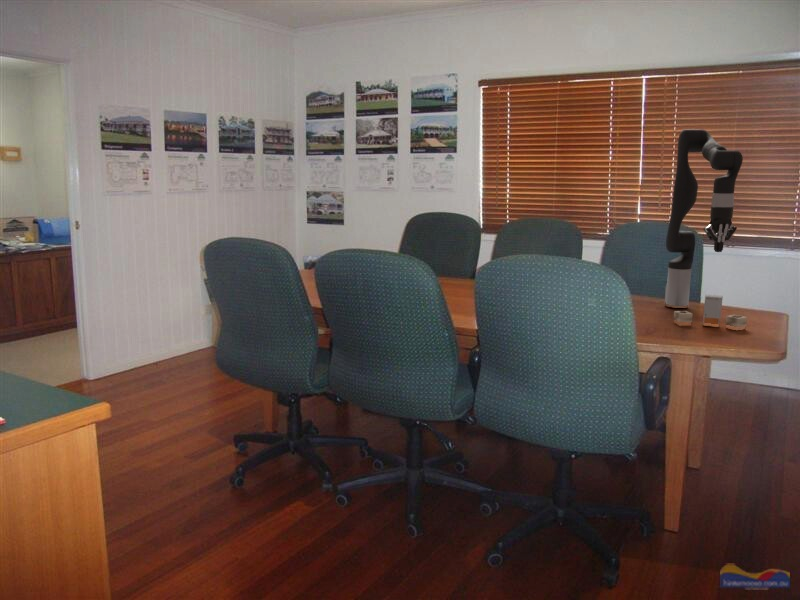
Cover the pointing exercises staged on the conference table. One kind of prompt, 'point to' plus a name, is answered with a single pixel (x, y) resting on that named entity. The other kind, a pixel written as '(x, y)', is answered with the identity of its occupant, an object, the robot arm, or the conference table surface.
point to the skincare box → (712, 309)
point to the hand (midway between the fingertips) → (718, 251)
